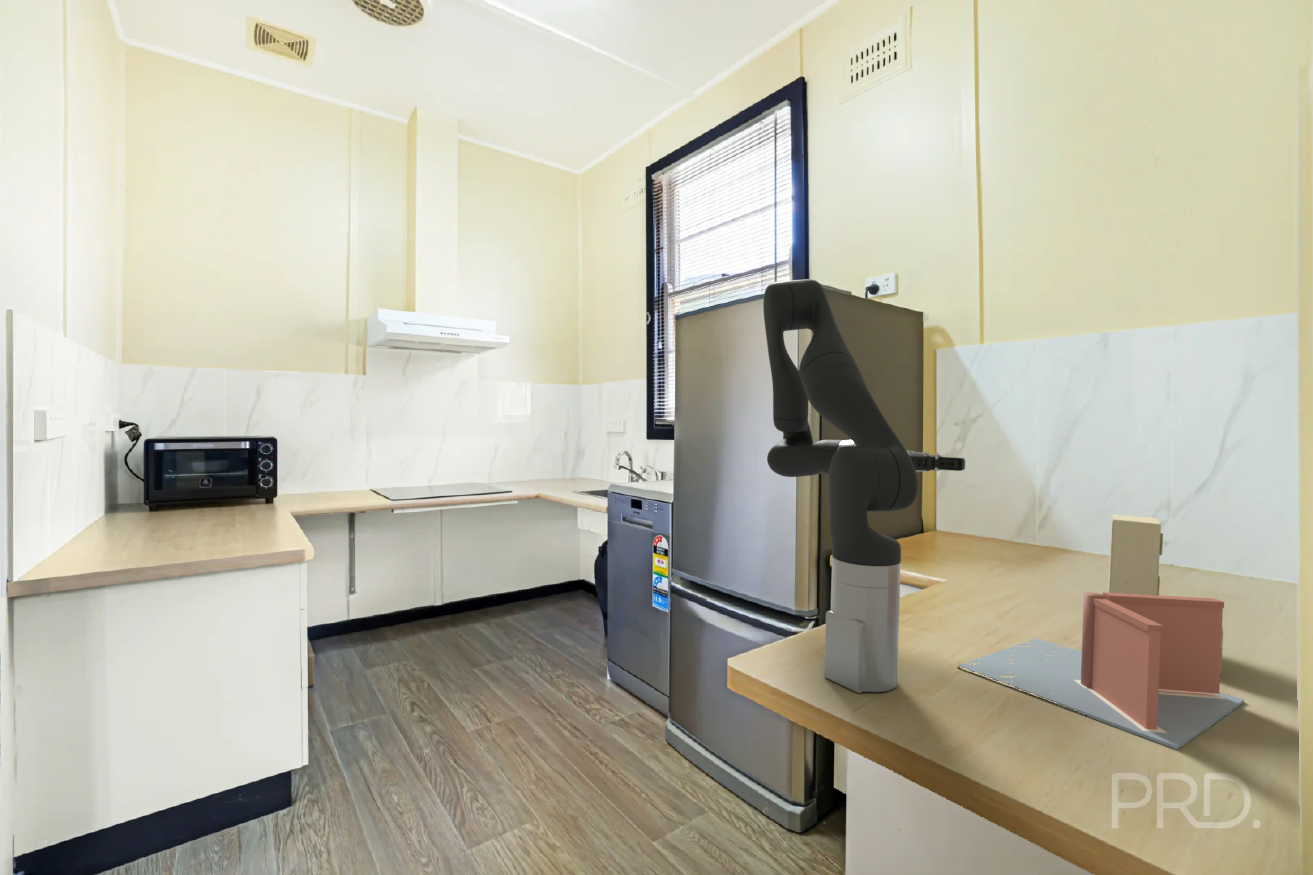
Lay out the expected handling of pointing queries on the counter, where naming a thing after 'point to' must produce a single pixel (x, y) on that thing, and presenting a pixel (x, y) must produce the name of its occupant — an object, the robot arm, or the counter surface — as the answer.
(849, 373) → the robot arm
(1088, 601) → the bar
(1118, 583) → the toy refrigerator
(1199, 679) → the panel
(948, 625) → the counter surface
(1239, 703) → the card
